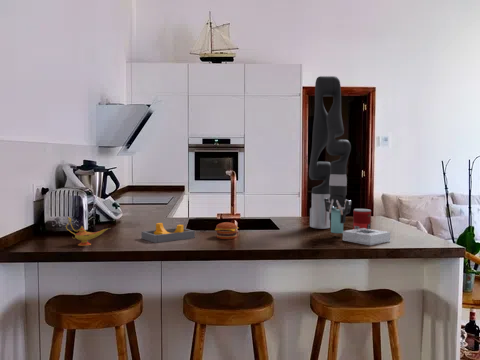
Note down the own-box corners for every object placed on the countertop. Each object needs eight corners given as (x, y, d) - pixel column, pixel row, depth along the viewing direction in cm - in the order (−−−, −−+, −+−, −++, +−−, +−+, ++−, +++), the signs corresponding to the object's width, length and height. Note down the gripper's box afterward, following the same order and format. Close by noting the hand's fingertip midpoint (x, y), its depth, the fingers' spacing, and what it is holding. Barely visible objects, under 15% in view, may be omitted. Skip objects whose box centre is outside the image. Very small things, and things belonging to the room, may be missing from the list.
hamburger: (218, 235, 205) (218, 220, 204) (239, 236, 203) (239, 221, 202) (213, 238, 195) (213, 223, 195) (234, 239, 194) (235, 224, 193)
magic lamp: (107, 246, 177) (107, 218, 176) (62, 246, 177) (62, 218, 177) (113, 243, 184) (113, 216, 183) (69, 242, 184) (69, 215, 184)
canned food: (371, 234, 208) (371, 210, 208) (353, 233, 210) (353, 210, 209) (369, 231, 216) (370, 208, 215) (352, 231, 217) (353, 208, 217)
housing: (342, 240, 193) (342, 231, 193) (362, 236, 202) (362, 227, 202) (370, 245, 182) (370, 235, 182) (390, 241, 191) (390, 232, 191)
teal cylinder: (328, 232, 202) (328, 209, 201) (336, 230, 205) (336, 209, 205) (337, 233, 198) (338, 210, 197) (345, 232, 201) (346, 210, 201)
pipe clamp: (154, 239, 195) (153, 224, 195) (158, 237, 199) (158, 222, 199) (179, 241, 191) (178, 226, 191) (183, 239, 195) (183, 224, 195)
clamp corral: (141, 238, 194) (141, 231, 194) (180, 233, 207) (180, 227, 206) (155, 242, 185) (155, 235, 185) (194, 237, 197) (194, 230, 197)
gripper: (320, 184, 204) (319, 221, 205) (345, 185, 192) (344, 225, 193) (330, 183, 208) (330, 219, 209) (356, 185, 197) (355, 223, 198)
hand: (337, 222), depth 201 cm, fingers closed on teal cylinder, 5 cm apart
